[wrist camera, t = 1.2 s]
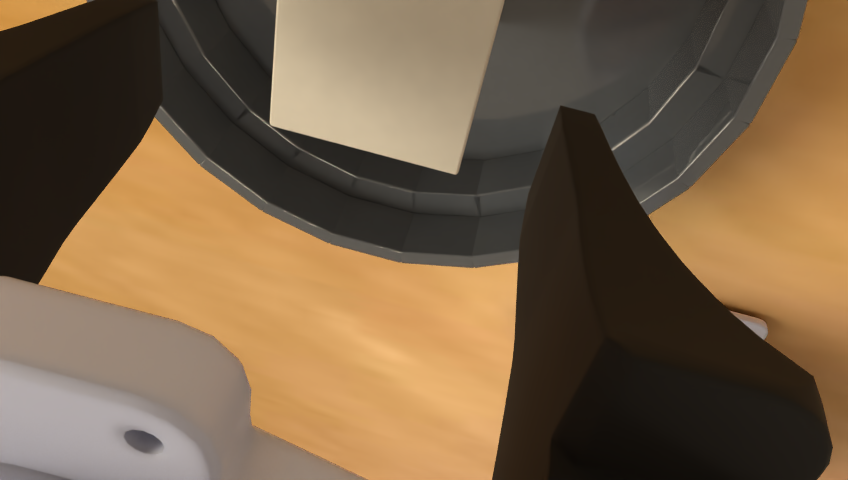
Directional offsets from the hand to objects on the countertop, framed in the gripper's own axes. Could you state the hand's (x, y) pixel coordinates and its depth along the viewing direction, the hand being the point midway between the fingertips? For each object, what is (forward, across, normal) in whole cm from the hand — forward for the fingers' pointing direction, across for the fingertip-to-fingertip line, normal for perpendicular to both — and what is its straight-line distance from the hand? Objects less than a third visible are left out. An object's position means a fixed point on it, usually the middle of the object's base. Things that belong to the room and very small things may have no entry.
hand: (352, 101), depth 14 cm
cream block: (+10, 0, +1) cm, 10 cm away
